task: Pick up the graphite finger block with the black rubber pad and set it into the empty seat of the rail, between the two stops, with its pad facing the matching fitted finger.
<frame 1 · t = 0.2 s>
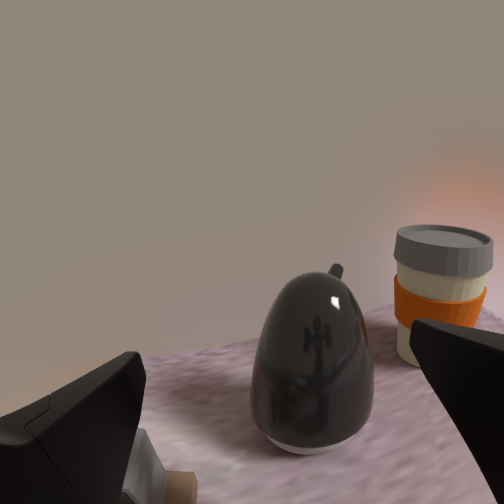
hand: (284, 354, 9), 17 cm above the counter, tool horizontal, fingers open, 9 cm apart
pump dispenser: (310, 429, 23), on the counter
reusable coffee cup: (428, 350, 32), on the counter
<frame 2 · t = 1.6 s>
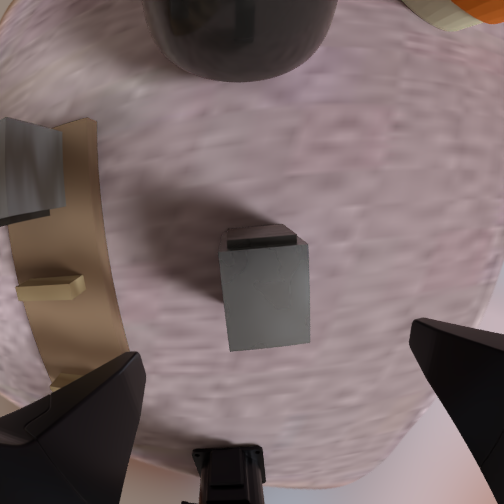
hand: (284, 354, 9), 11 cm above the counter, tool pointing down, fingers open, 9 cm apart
finger block: (257, 267, 20), on the counter
rail: (64, 270, 19), on the counter
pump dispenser: (238, 36, 16), on the counter
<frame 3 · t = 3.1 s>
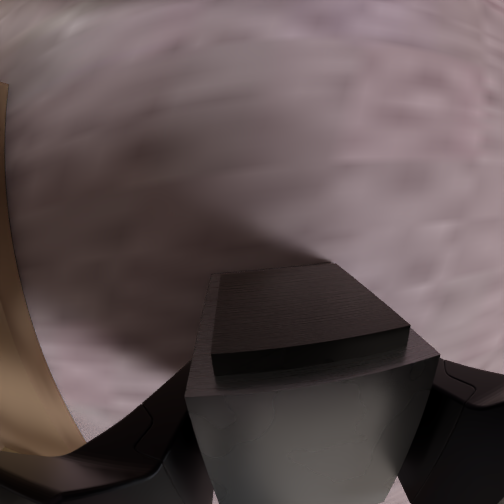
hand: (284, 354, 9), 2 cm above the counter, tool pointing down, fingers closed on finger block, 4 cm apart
finger block: (277, 336, 10), on the counter, touching gripper
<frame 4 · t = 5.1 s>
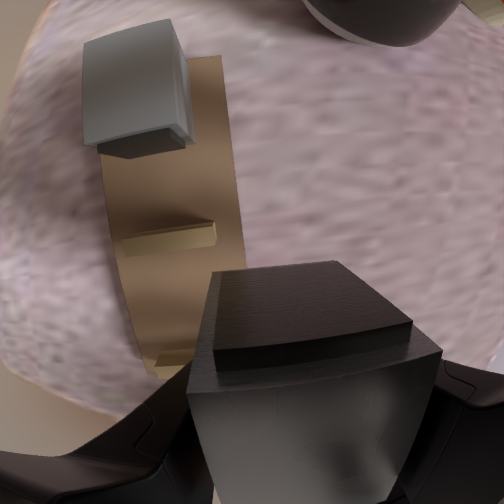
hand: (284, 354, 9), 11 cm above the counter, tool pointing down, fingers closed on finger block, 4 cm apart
finger block: (278, 334, 10), point 9 cm above the counter, touching gripper
rail: (176, 222, 18), on the counter
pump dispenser: (350, 10, 16), on the counter
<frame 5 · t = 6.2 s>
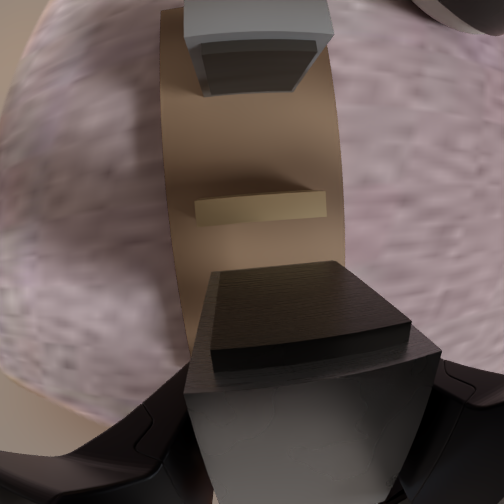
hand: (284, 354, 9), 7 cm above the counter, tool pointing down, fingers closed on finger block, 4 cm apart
finger block: (277, 334, 10), point 5 cm above the counter, touching gripper
rail: (254, 190, 14), on the counter
when the fingers open (4 cm above the counter, at t = 7.0 s): finger block stays where it is, resting on rail.
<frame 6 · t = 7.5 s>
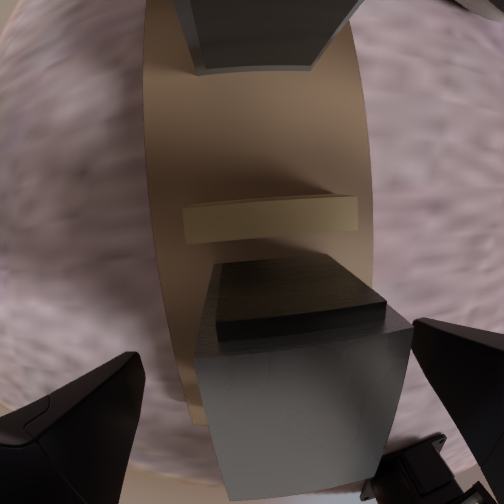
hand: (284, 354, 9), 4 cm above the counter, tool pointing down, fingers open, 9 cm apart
finger block: (274, 322, 11), point 1 cm above the counter, touching rail
rail: (261, 193, 12), on the counter
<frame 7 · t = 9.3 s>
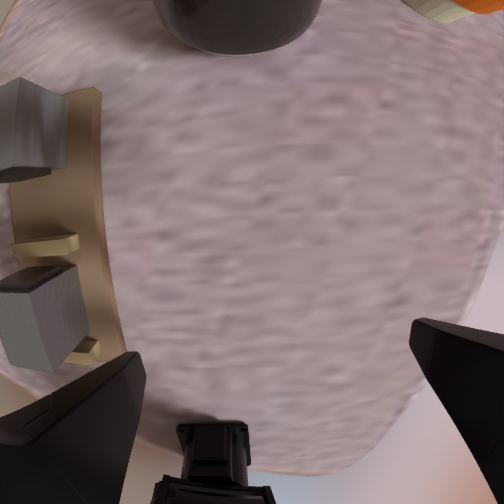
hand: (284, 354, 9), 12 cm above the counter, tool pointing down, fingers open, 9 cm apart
finger block: (62, 298, 19), point 1 cm above the counter, touching rail
rail: (60, 232, 19), on the counter
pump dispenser: (237, 19, 17), on the counter
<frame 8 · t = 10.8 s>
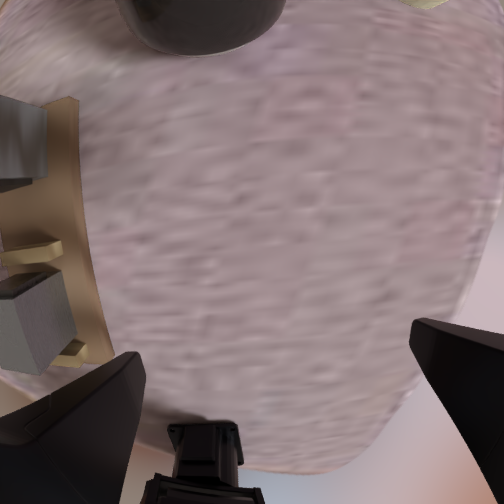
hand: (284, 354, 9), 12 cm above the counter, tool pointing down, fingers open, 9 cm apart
finger block: (49, 303, 19), point 1 cm above the counter, touching rail
rail: (46, 238, 19), on the counter
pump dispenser: (208, 19, 16), on the counter
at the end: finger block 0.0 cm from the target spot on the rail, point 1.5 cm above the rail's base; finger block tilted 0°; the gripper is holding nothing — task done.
